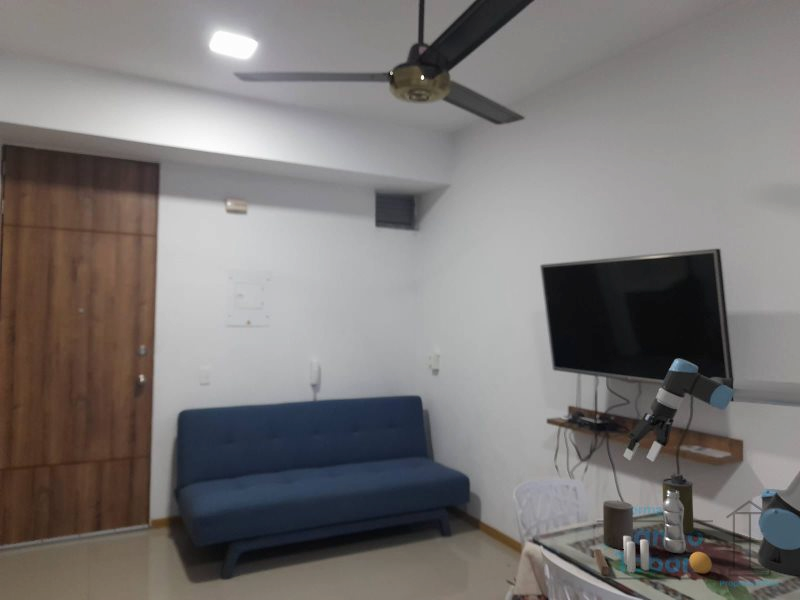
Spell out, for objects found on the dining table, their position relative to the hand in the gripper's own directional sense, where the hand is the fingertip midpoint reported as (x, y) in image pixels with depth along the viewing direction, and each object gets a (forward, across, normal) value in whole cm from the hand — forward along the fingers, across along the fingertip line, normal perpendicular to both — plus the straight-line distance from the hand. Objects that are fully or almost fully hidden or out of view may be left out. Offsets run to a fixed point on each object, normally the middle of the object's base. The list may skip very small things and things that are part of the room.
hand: (638, 459), depth 191 cm
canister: (+25, -36, +6) cm, 44 cm away
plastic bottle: (+24, -14, +18) cm, 33 cm away
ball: (+17, -4, +29) cm, 34 cm away
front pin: (+26, +7, +21) cm, 34 cm away
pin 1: (+28, +8, +16) cm, 33 cm away
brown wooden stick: (+31, +16, +13) cm, 37 cm away
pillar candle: (+31, -5, +5) cm, 32 cm away
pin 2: (+27, +12, +20) cm, 36 cm away
